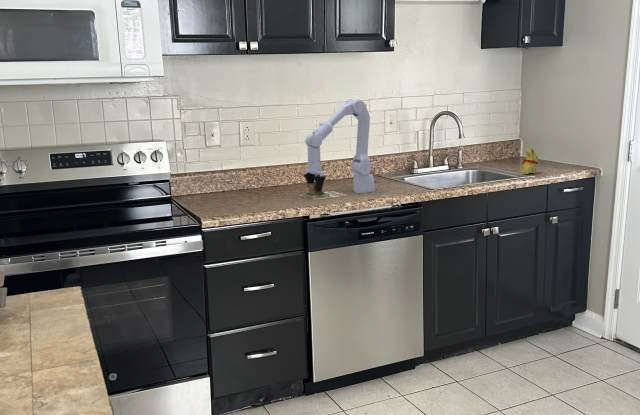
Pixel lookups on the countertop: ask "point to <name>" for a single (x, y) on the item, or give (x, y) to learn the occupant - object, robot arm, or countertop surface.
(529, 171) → the chocolate bunny
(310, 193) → the walnut block
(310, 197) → the board
